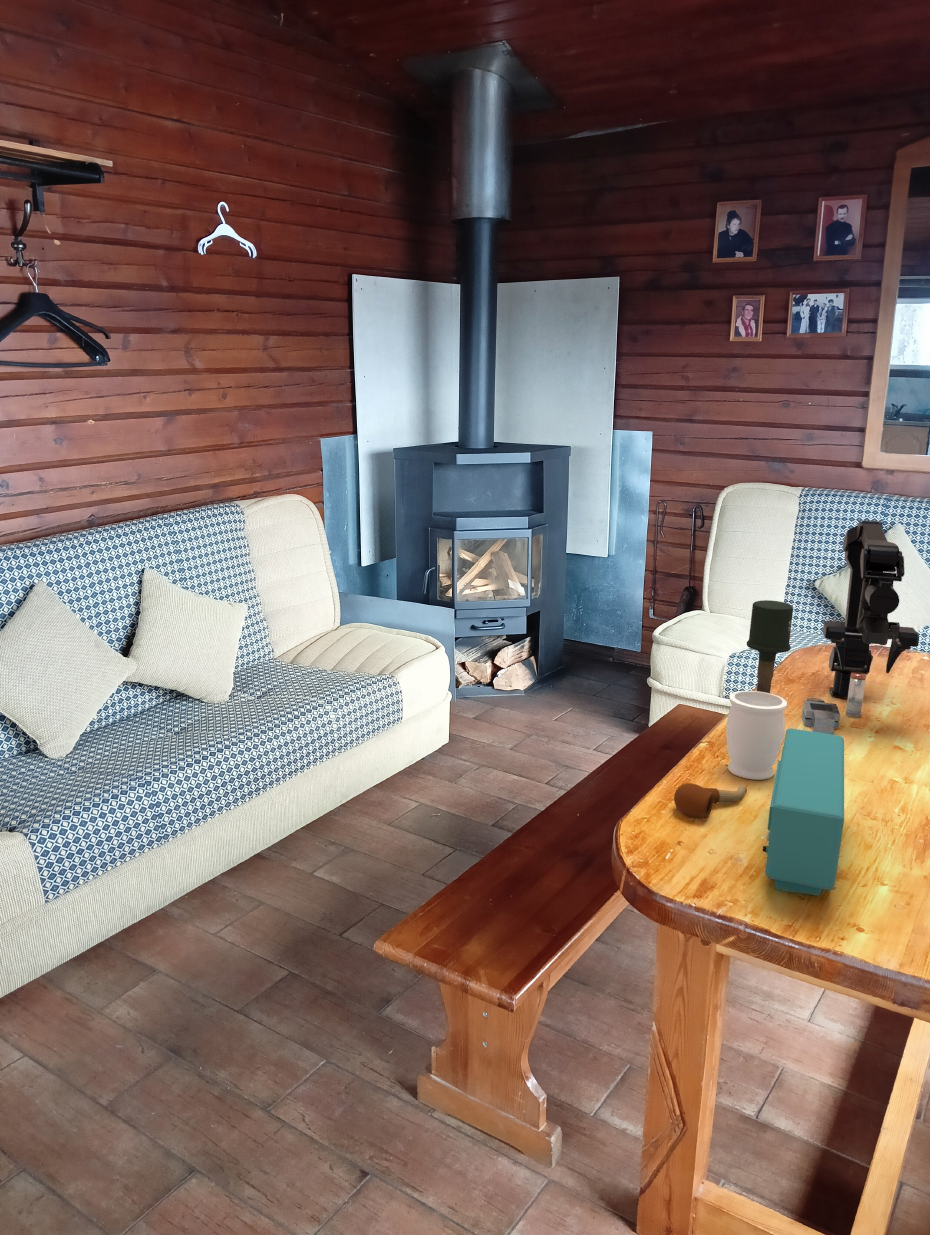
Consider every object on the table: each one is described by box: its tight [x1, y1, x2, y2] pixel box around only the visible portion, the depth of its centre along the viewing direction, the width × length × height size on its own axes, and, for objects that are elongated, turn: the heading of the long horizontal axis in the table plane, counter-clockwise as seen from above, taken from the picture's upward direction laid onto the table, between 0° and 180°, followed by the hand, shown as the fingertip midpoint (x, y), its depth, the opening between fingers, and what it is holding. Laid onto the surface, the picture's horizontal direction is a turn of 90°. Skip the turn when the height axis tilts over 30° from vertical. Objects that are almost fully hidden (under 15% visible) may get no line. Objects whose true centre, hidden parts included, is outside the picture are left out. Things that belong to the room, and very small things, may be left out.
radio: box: [762, 728, 845, 896], centre depth 150 cm, size 34×10×15 cm, turn 159°
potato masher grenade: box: [746, 599, 794, 694], centre depth 193 cm, size 8×9×30 cm
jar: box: [725, 690, 788, 781], centre depth 180 cm, size 11×10×15 cm
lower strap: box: [801, 697, 840, 731], centre depth 214 cm, size 16×7×2 cm, turn 165°
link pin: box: [845, 672, 867, 719], centre depth 214 cm, size 3×3×10 cm
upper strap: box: [802, 700, 841, 735], centre depth 208 cm, size 11×7×4 cm, turn 165°
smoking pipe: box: [673, 782, 748, 820], centre depth 168 cm, size 7×18×6 cm, turn 135°
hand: (864, 670), depth 206 cm, fingers open, 9 cm apart
